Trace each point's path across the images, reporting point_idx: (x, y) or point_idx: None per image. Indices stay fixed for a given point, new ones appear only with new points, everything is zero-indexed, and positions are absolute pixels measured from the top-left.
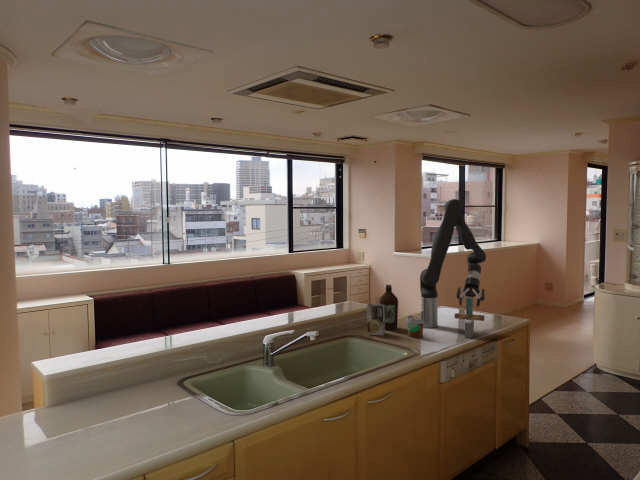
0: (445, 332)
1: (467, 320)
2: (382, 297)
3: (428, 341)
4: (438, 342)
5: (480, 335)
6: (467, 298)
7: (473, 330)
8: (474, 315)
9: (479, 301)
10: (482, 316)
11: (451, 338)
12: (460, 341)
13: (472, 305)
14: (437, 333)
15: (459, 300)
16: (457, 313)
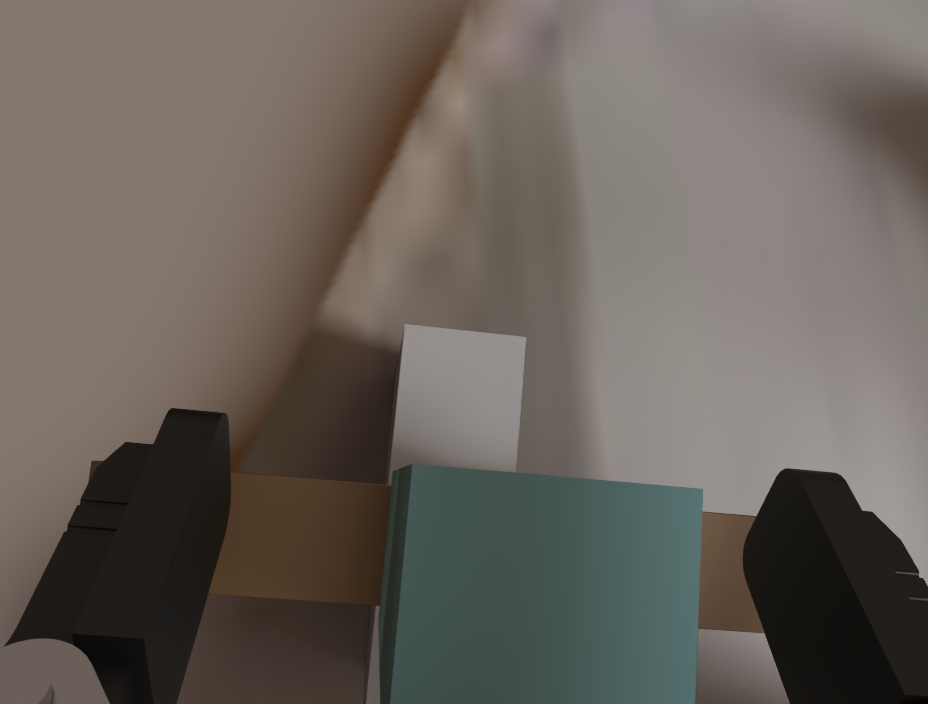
0: None
1: (475, 393)
2: None
3: (894, 68)
4: (772, 55)
5: (258, 601)
6: (630, 486)
7: (368, 644)
8: (328, 495)
9: (66, 559)
10: None
11: (650, 292)
12: (516, 175)
13: (386, 601)
14: (879, 508)
15: (926, 608)
16: (751, 601)
